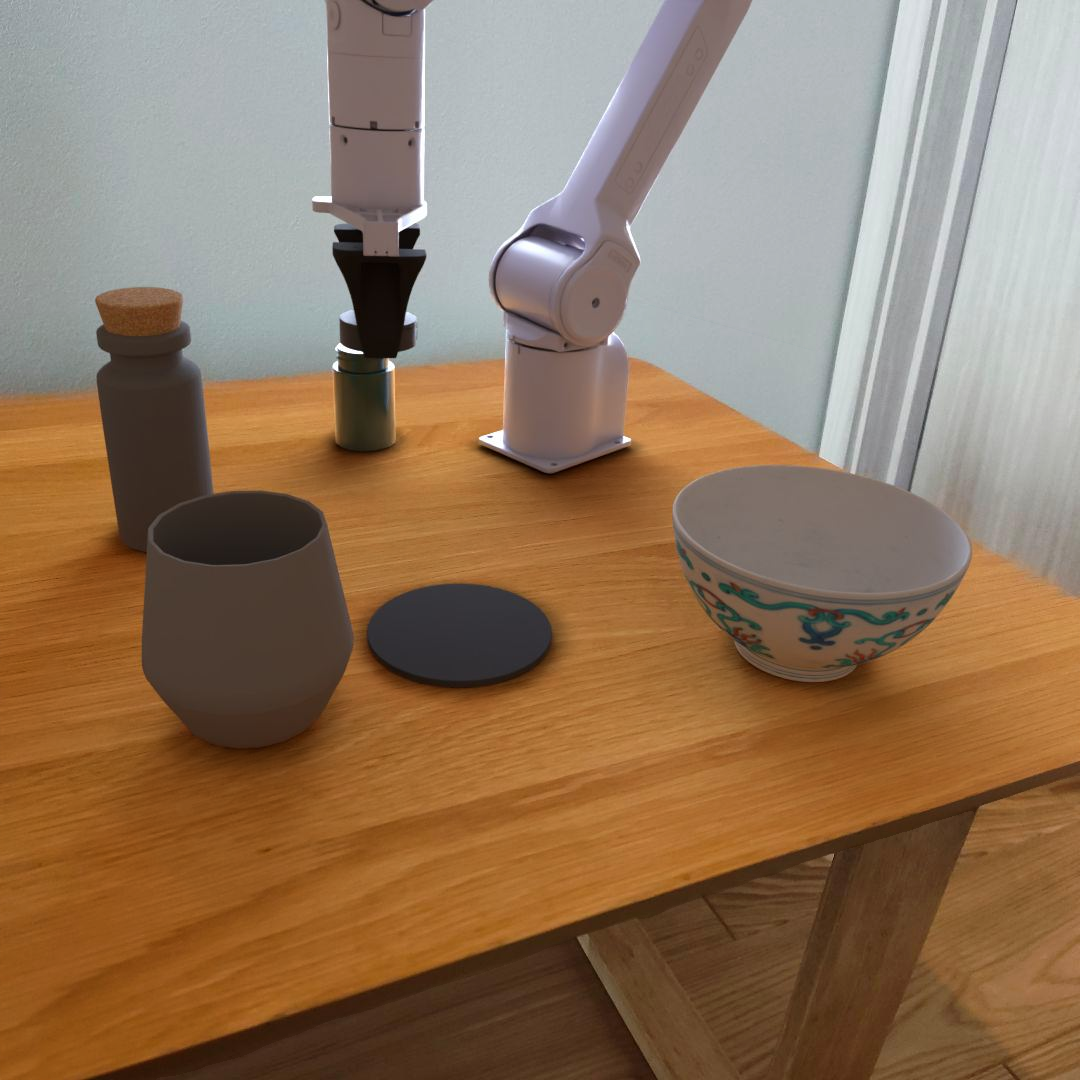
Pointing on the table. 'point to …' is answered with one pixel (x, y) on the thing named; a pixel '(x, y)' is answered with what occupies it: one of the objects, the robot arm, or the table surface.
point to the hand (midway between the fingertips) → (379, 344)
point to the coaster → (459, 635)
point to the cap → (351, 337)
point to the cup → (244, 616)
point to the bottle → (150, 408)
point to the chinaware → (815, 564)
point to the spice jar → (363, 401)
